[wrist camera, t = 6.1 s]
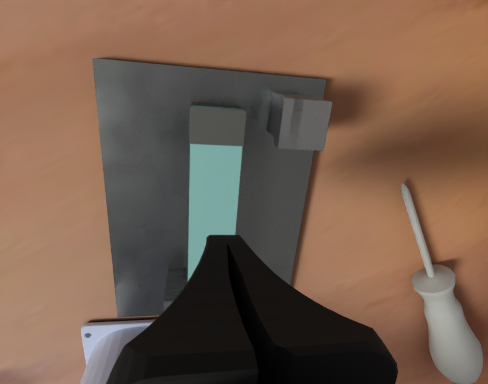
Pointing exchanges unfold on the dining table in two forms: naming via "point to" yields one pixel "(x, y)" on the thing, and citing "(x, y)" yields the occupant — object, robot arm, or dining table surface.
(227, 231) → the teal rectangular bar
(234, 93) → the plate
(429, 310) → the screwdriver
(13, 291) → the dining table surface
